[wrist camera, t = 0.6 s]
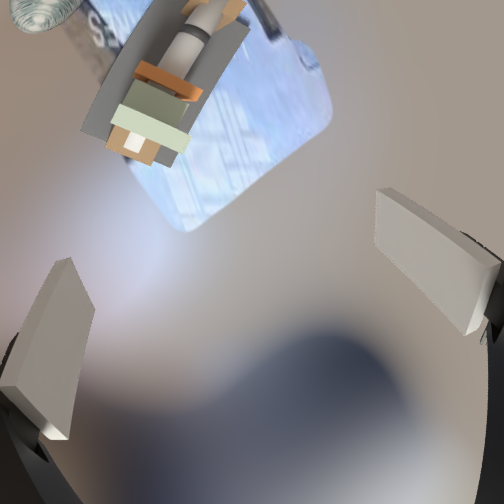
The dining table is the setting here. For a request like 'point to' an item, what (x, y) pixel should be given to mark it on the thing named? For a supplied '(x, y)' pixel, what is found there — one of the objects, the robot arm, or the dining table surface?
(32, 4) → the grey rounded lump
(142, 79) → the ring
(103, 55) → the dining table surface
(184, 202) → the dining table surface
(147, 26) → the rig
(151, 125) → the sleeve
